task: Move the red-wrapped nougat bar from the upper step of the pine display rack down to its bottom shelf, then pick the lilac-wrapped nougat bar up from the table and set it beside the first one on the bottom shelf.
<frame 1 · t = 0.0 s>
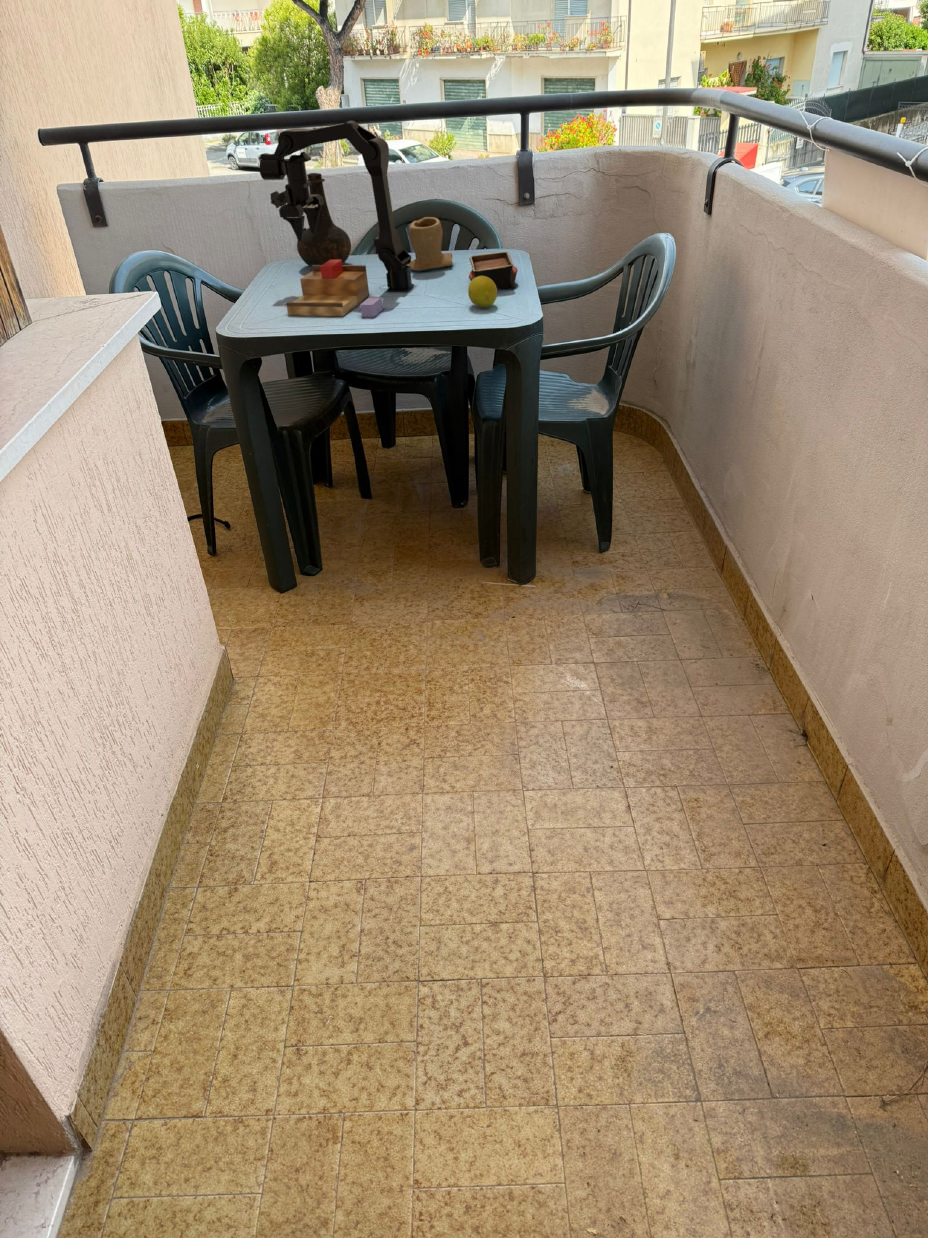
hand: (306, 236, 251), 15 cm above the table, tool pointing down, fingers open, 9 cm apart
red nougat bar: (332, 274, 243), point 7 cm above the table, touching pine rack
pine rack: (329, 304, 244), on the table
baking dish: (493, 285, 250), on the table
tan hollow boot-shaped piece: (433, 269, 270), on the table
lemon: (483, 306, 233), on the table
lilac nougat bar: (372, 312, 234), on the table
glass bottle: (327, 266, 281), on the table
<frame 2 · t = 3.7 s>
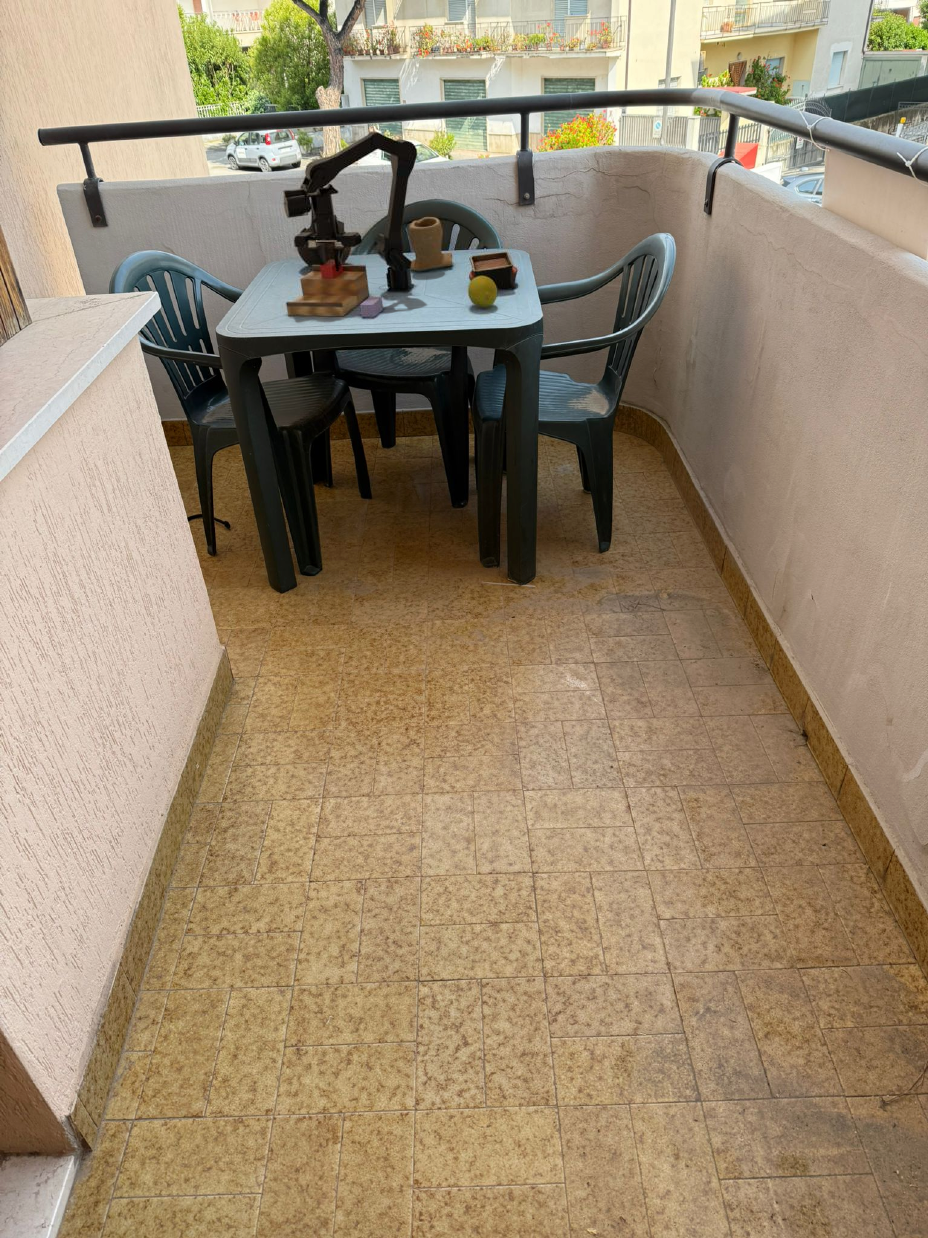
hand: (332, 271, 243), 8 cm above the table, tool pointing down, fingers closed on red nougat bar, 3 cm apart
red nougat bar: (332, 274, 243), point 7 cm above the table, touching gripper, pine rack
everything else where it was.
when the fingers open (3 cm above the table, at t = 7.9 s): red nougat bar stays where it is, resting on pine rack.
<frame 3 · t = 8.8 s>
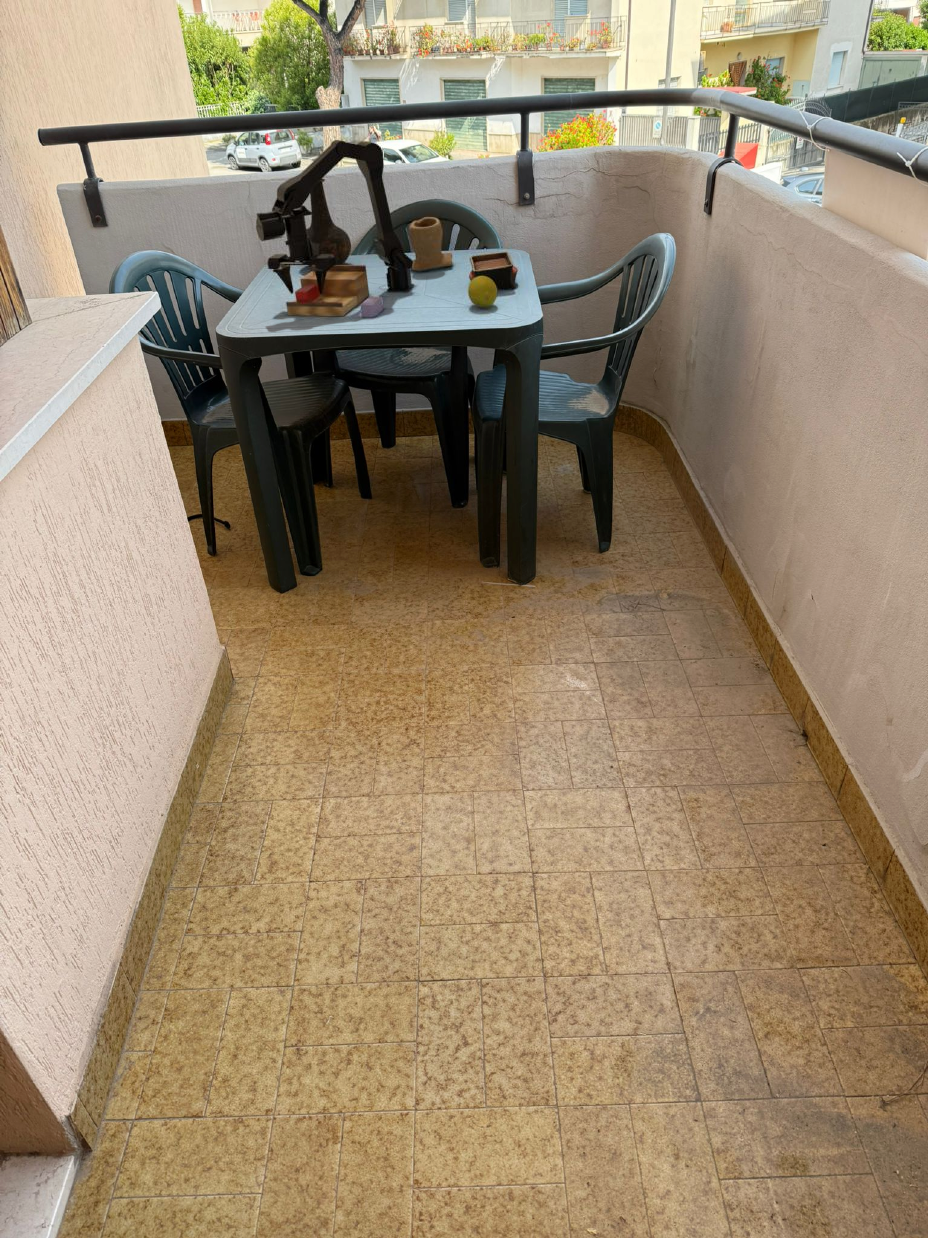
hand: (306, 293, 239), 4 cm above the table, tool pointing down, fingers open, 9 cm apart
red nougat bar: (308, 299, 240), point 2 cm above the table, touching pine rack
everything else where it was.
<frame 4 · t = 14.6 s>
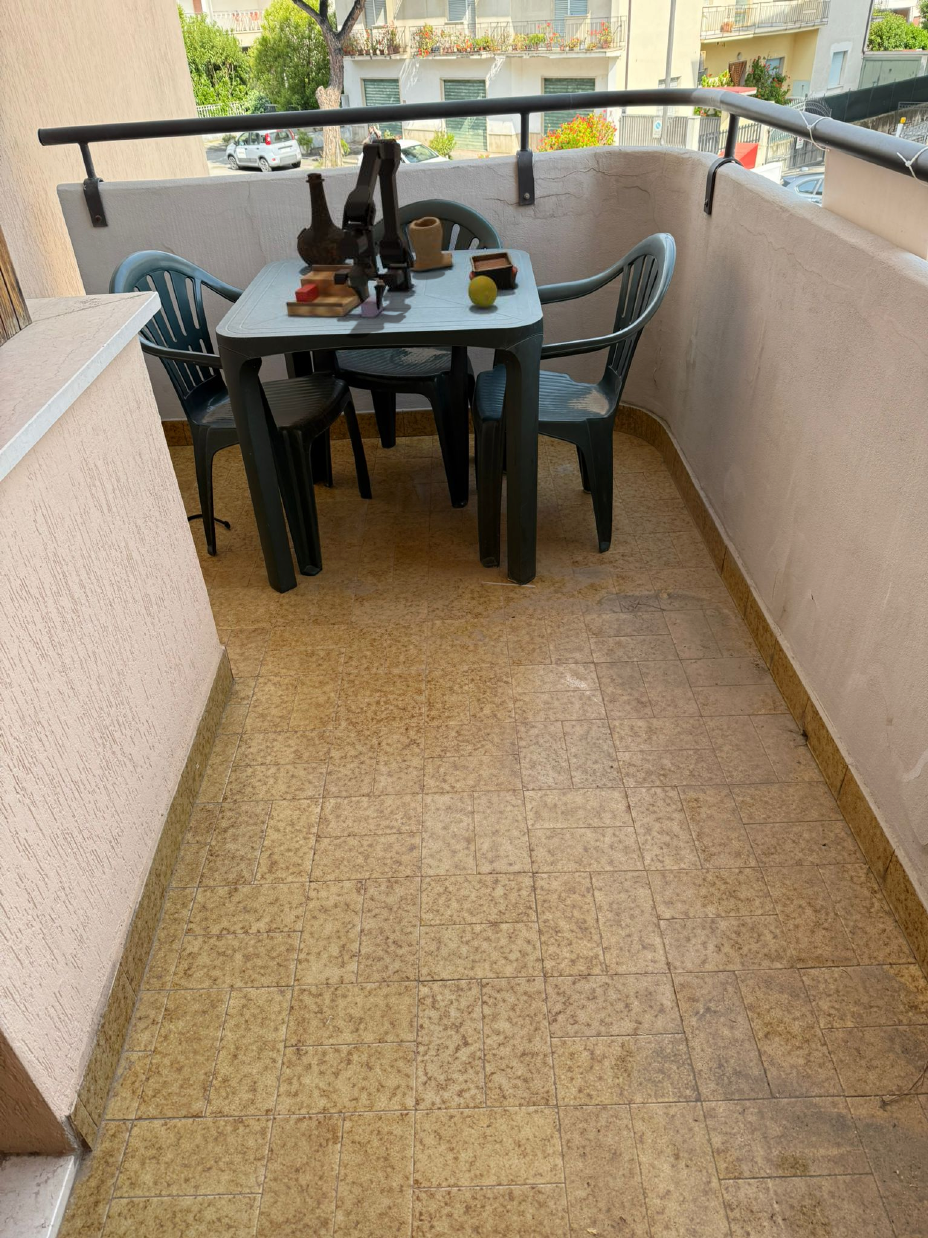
hand: (372, 309, 234), 1 cm above the table, tool pointing down, fingers closed on lilac nougat bar, 3 cm apart
lilac nougat bar: (372, 312, 234), on the table, touching gripper
everything else where it was.
when the fingers open (3 cm above the table, at t = 19.5 s): lilac nougat bar stays where it is, resting on pine rack.
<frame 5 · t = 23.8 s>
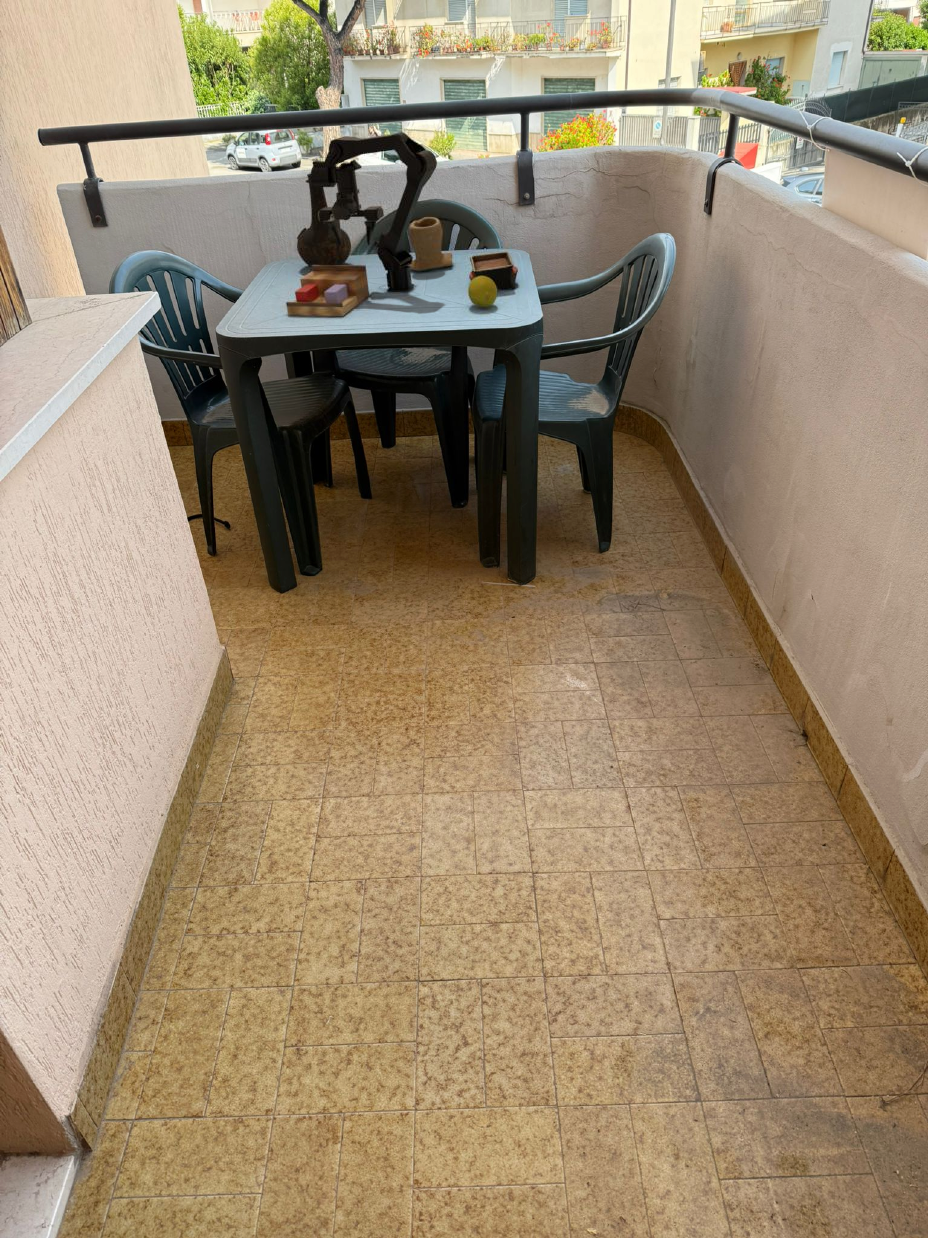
hand: (354, 244, 251), 12 cm above the table, tool pointing down, fingers open, 9 cm apart
lilac nougat bar: (337, 300, 238), point 2 cm above the table, touching pine rack
everything else where it was.
at the end: red nougat bar inside the target area (4.5 cm from its centre), point 2.5 cm above the table; lilac nougat bar inside the target area (4.6 cm from its centre), point 2.5 cm above the table; lilac nougat bar tilted 0° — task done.
